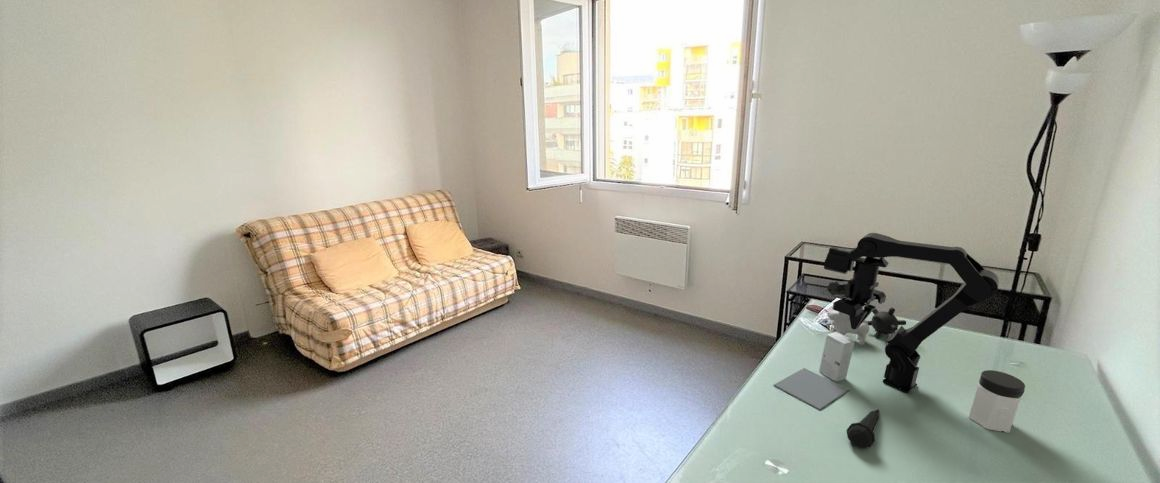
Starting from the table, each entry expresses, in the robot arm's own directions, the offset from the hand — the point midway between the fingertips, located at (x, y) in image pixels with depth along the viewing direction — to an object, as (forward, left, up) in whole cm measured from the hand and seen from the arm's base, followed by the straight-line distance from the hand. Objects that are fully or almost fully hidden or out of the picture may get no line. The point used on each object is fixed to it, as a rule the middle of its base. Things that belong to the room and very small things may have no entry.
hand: (854, 328), depth 139 cm
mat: (0, +19, -12) cm, 23 cm away
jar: (-33, -4, -13) cm, 36 cm away
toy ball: (+3, -30, -13) cm, 33 cm away
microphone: (-18, +25, -13) cm, 33 cm away
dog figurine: (+9, -17, -13) cm, 23 cm away
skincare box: (0, +8, -13) cm, 15 cm away
